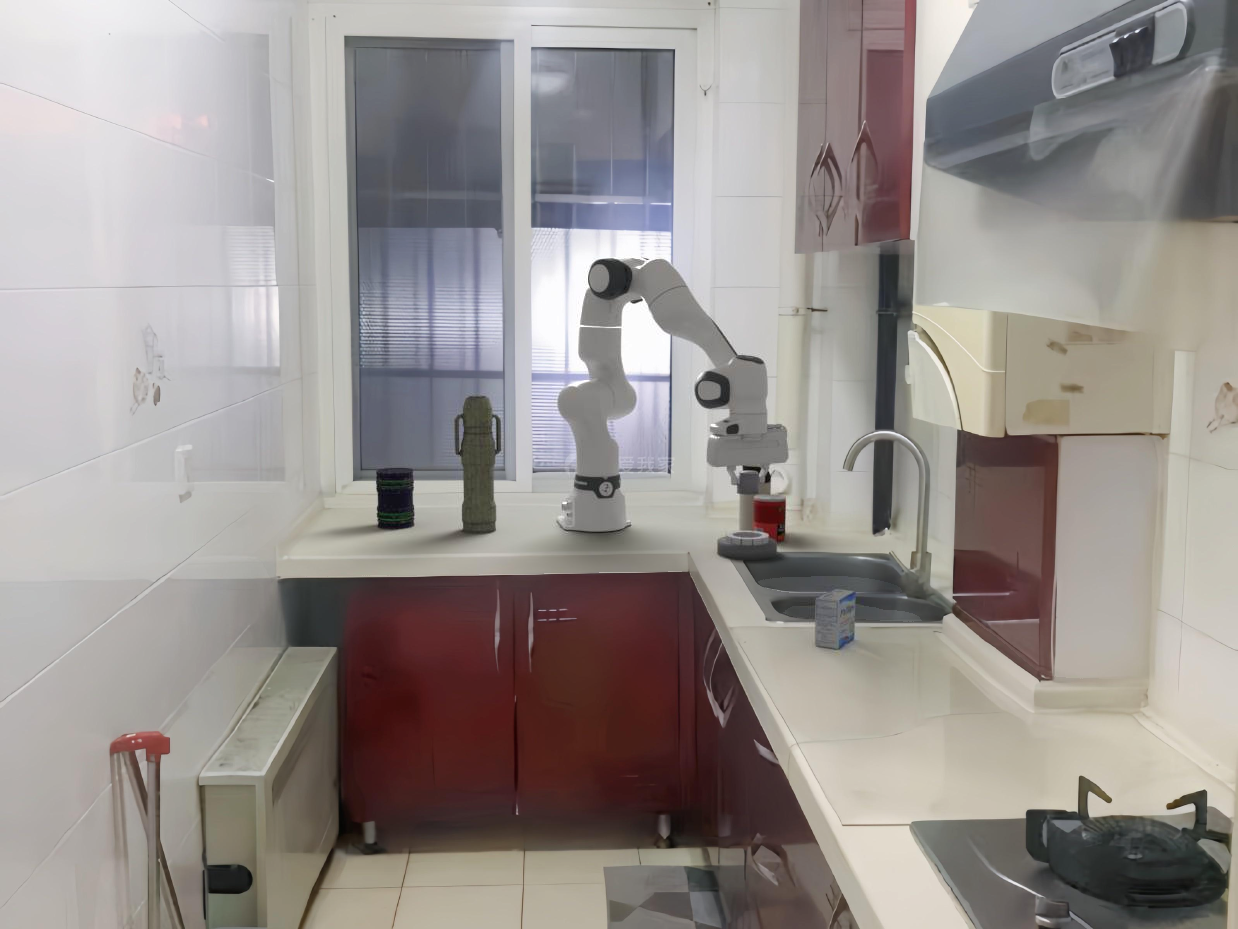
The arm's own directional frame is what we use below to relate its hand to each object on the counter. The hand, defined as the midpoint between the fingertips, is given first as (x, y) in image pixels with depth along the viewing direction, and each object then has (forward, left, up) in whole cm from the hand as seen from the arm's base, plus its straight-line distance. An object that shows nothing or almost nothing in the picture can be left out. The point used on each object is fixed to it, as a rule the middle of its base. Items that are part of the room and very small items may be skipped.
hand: (747, 484), depth 264 cm
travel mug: (-23, +15, -17) cm, 32 cm away
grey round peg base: (0, 0, -17) cm, 17 cm away
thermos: (-51, -51, -17) cm, 74 cm away
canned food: (-12, +13, -17) cm, 25 cm away
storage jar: (-65, -70, -17) cm, 97 cm away
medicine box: (+69, -21, -17) cm, 74 cm away
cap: (0, 0, -2) cm, 2 cm away
